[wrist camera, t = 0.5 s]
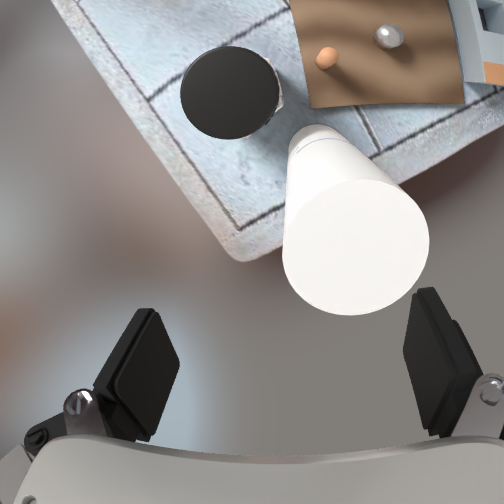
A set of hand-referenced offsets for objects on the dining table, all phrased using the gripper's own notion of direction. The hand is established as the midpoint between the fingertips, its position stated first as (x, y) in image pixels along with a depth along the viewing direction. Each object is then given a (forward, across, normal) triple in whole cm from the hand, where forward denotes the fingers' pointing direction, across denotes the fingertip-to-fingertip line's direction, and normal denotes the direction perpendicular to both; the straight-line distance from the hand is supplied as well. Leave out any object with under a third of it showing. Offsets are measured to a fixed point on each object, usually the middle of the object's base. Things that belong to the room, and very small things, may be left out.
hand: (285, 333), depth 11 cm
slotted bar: (+29, -27, -18) cm, 44 cm away
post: (+29, -13, -14) cm, 35 cm away
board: (+29, -13, -14) cm, 35 cm away
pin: (+28, -5, -11) cm, 31 cm away
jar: (+30, +4, -9) cm, 31 cm away
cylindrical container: (+30, -3, 0) cm, 30 cm away
